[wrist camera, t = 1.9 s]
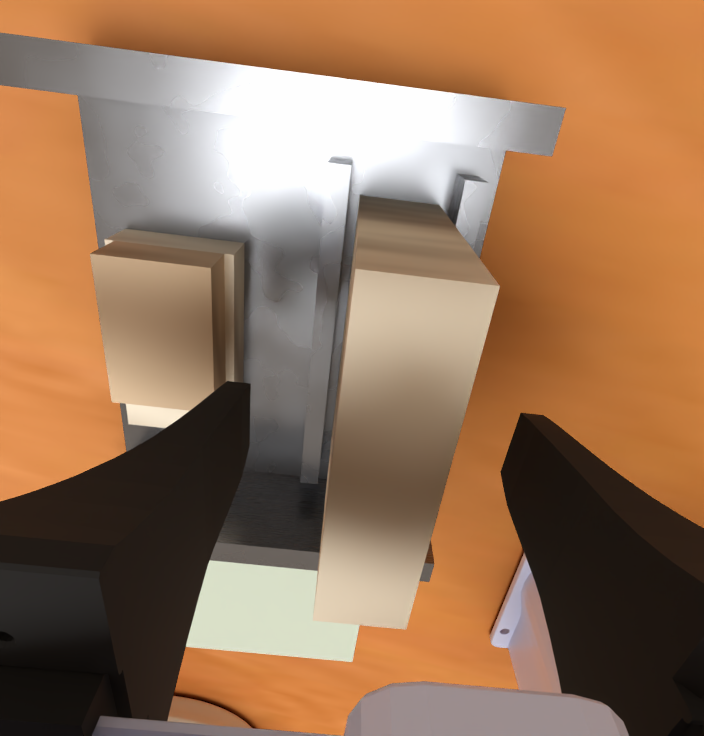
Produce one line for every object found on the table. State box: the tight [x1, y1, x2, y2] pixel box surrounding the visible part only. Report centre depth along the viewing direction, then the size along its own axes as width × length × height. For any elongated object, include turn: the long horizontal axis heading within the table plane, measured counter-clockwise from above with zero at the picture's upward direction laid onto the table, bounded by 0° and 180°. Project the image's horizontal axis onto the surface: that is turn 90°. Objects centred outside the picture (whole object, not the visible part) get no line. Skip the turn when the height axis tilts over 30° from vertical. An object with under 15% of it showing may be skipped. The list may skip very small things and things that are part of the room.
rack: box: [0, 33, 566, 582], centre depth 17 cm, size 16×13×5 cm
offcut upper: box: [90, 241, 226, 411], centre depth 16 cm, size 5×3×2 cm
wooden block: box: [313, 195, 500, 629], centre depth 14 cm, size 10×3×8 cm, turn 173°
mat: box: [186, 560, 359, 662], centre depth 26 cm, size 12×10×1 cm
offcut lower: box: [104, 229, 244, 428], centre depth 17 cm, size 7×4×2 cm, turn 173°
